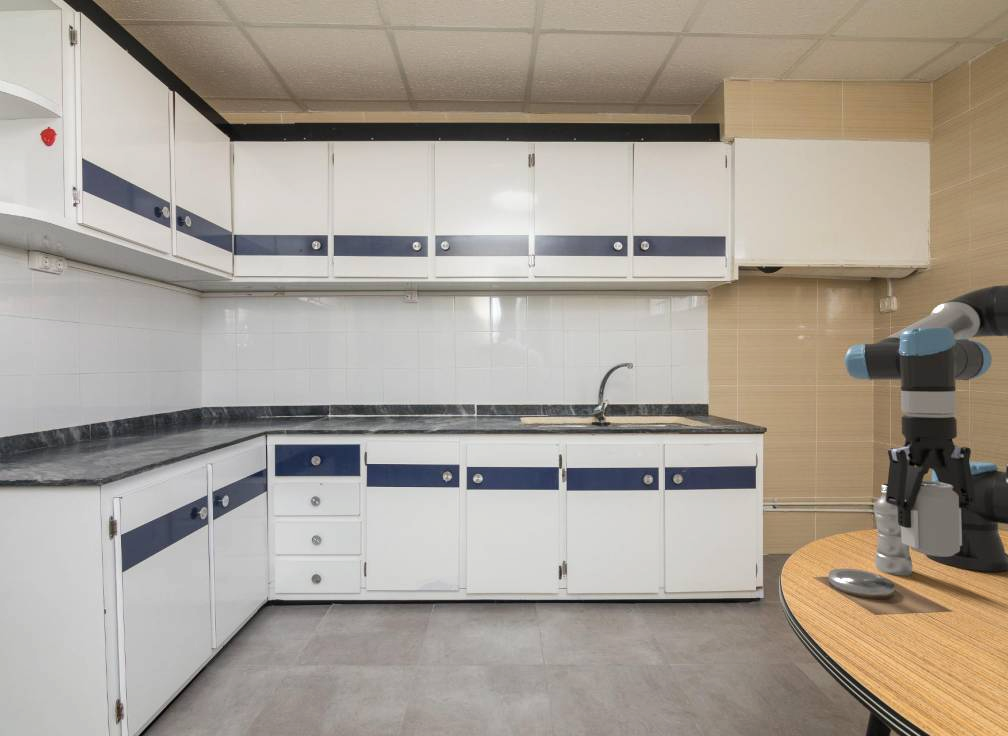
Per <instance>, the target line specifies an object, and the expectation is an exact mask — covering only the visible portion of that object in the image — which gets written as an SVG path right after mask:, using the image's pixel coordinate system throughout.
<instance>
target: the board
mask: <svg viewBox="0 0 1008 736" xmlns="http://www.w3.org/2000/svg"><path fill="white" fill-rule="evenodd" d="M879 575H880V576H882V575H881V574H879ZM812 578H813V579H815V580H816V581H818V582H820V584H821V583H822V584H823V585H824V586H826V587H828V588H829V589H831V590H833V591H834V592H836V593H838V594H840V595H841V596H842V597H845V598H846V599H848V600H850V601H852V602H853V603H855V604H856V605H858V606H860V607H861V608H864V609H865V610H866V611H868V612H870V613H872V614H873V615H875V616H876V615H877V616H880V615H881V616H882V615H898V614H899V615H901V614H920V613H921V614H922V613H923V614H924V613H942V612H944V613H945V612H953V610H951V609H950V608H947V607H946V606H943V605H941V604H939V603H937V602H935V601H933V600H931V599H930V598H927V597H925V596H923V595H921V594H919V593H917V592H915V591H913V590H911V589H909V588H907V587H905V586H903V585H902V584H899V583H897V582H895V581H893V580H891V579H889V580H890V581H892V582H893V583H894V597H893V598H890V599H886V600H873V599H865V598H859V597H855V596H851V595H848V594H845V593H842V592H840V591H838V590H836V589H834V588H833V587H832V586H830V584H829V576H813V577H812Z"/></svg>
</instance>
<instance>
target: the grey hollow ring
mask: <svg viewBox="0 0 1008 736" xmlns="http://www.w3.org/2000/svg"><path fill="white" fill-rule="evenodd" d="M880 575H881V574H877V573H875V572H874V573H873V572H871V571H866V570H862V569H853V568H835V569H832V570H830V571H829V572H828V577H829V584H830V586H832V587H833V588H834V589H836V590H838V591H840V592H842V593H845V594H848V595H851V596H855V597H859V598H865V599H873V600H886V599H890V598H893V597H894V583H893V582H894V581H893V580H891V579H889V578H887V577H885V576H883V575H881V576H880ZM890 580H891V581H890ZM892 581H893V582H892Z"/></svg>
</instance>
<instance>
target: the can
mask: <svg viewBox="0 0 1008 736" xmlns="http://www.w3.org/2000/svg"><path fill="white" fill-rule="evenodd" d="M952 489H953V486H952V485H950V484H946V483H942V482H935V481H932V480H924V479H923V480H922V483H921V486H920V489H919V492H918V495H917V498H916V501H915V504H914V507H913V509H915V510H918V535H919V548H913V547H911V546H909V549H911V550H912V551H915V552H916V553H920V554H922V555H925V554H927V555H932V556H939V557H949V556H953V555H954V554H956V553H958V552H959V551H960V530H959V495H958V494H957V493H955V492H954V491H953V490H952ZM905 502H906V500H905Z"/></svg>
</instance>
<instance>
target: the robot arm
mask: <svg viewBox="0 0 1008 736" xmlns="http://www.w3.org/2000/svg"><path fill="white" fill-rule="evenodd" d="M982 337H1008V284H1005V285H1004V284H1003V285H993V286H988V287H983V288H979V289H975V290H972V291H969V292H967V293H964V294H961V295H959V296H957V297H954V298H952V299H950V300H947V301H945V302H944V303H941V304H940V305H938V306H937V307H935V308H934V309H933V310H932V311H931V312H930V315H928V316H926V317H924V318H922V319H920V320H918V321H916V322H914V323H912V324H911V325H909V326H906V327H905V328H902V329H900V330H899V331H896V332H895V333H893V334H891V335H889V336H887V337H885V338H883V339H880V340H879V341H877V342H873V343H861V344H854V345H852V346H850V347H849V348H848V350H847V351H846V353H845V358H844V365H845V368H846V371H847V374H848V375H850V377H851V378H853V379H857V380H869V381H872V380H873V381H875V380H876V381H877V380H879V381H880V380H881V381H885V380H887V381H889V380H898V381H899V380H900V384H901V385H900V393H901V394H900V399H901V401H900V402H901V404H900V406H901V408H900V411H901V412H902V413H904V415H902V416H901V417H900V418H901V420H900V421H901V434H902V435H903V436H904V438H905V441H904V443H903V446H902V447H898V448H893V447H889V448H888V450H887V454H888V459H889V466H888V467H889V468H888V477H887V483H886V484H887V493H886V502H887V503H889V504H892V505H895V506H897V508H898V524H899V525H900V526H901V543H903V544H906V545H908V546H911V547H913V548H919V535H918V510H915V509H913V507H914V504H915V501H916V498H917V495H918V492H919V489H920V486H921V483H922V480H924V477H925V475H927V474H928V473H929V471H930V470H931V481H935V482H942V483H946V484H950V485H952V486H953V489H952V490H953V491H954V492H955V493H957V494H958V495H959V530H960V551H959V552H958V553H956V554H954V555H953V556H949V557H939V556H932V555H927V554H924V555H925V556H926V557H927V558H929V559H932V560H934V561H936V562H939V563H941V564H944V565H948V566H951V567H956V568H960V569H967V570H971V571H972V570H973V571H977V572H978V571H979V572H993V573H995V572H1004V571H1005V572H1006V571H1007V570H1008V553H1007V552H1006V550H1005V547H1004V544H1003V541H1002V539H1001V538H1002V537H1000V534H999V533H1000V532H999V524H1002V525H1007V526H1008V463H1007V464H1006V466H1005V467H1006V469H1005V471H1001V470H999V468H998V466H997V465H996V464H995V463H994V462H991V463H990V462H987V461H986V462H984V461H983V462H982V461H970V458H971V454H972V450H971V448H970V447H965V446H959V445H955V444H954V441H953V440H954V439H955V438H957V435H958V432H957V431H958V430H957V429H958V428H957V425H958V424H957V423H958V422H957V418H955V417H954V416H953V415H956V413H957V391H956V381H969V380H971V379H976V378H979V377H981V376H983V375H984V374H985V373H987V372H988V370H989V369H990V367H991V365H992V361H993V358H992V354H991V351H990V350H989V348H988V347H987V346H985V345H984V344H983V343H981V342H979V341H976V340H972V339H973V338H982ZM971 338H972V339H971ZM969 339H971V340H969ZM905 500H906V502H905Z"/></svg>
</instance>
